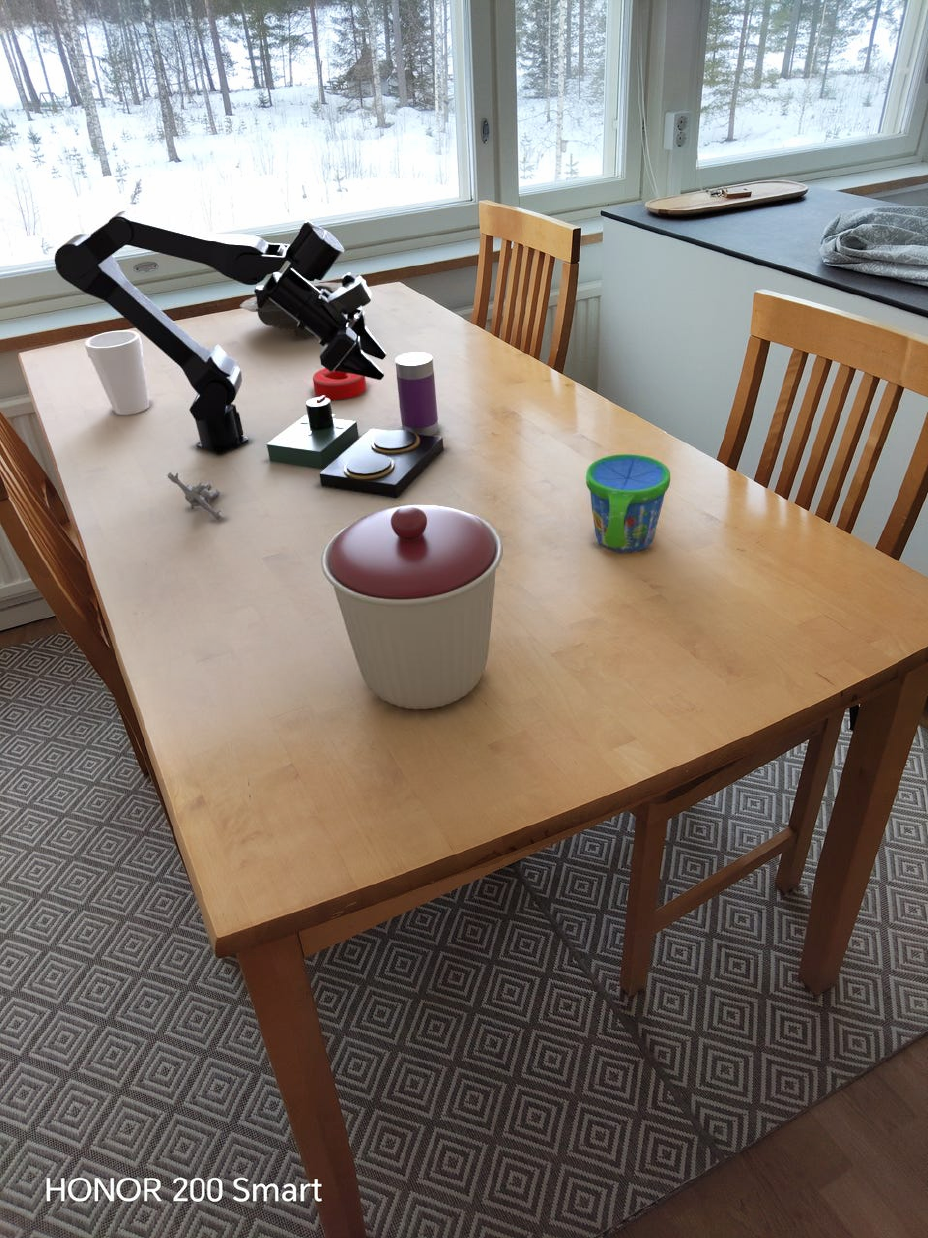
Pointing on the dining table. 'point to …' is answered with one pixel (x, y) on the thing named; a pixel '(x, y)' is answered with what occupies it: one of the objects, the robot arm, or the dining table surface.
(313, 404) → the hob knob
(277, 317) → the stone bowl
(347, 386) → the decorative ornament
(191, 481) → the dining table surface
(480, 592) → the canister
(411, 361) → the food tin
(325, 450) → the control box
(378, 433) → the hob
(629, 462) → the snack cup
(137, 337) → the foam cup
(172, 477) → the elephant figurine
